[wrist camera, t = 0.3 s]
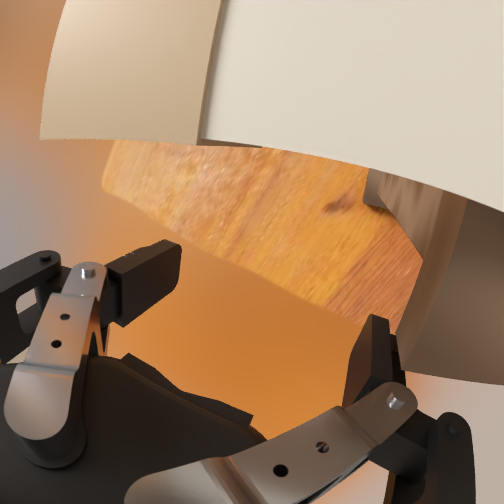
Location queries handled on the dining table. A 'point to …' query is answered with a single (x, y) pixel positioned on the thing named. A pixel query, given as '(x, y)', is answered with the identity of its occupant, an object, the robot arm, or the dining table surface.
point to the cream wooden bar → (293, 81)
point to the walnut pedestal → (448, 280)
